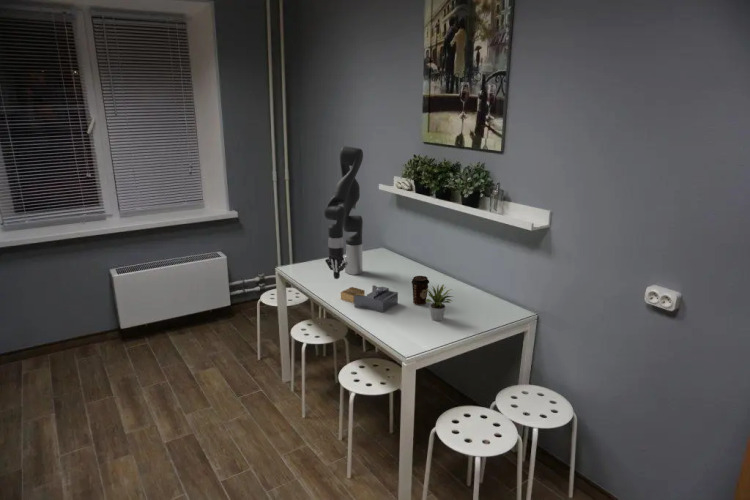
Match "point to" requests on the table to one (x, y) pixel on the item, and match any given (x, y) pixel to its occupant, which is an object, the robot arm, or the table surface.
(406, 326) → the table surface
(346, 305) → the table surface
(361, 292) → the block
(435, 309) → the house plant
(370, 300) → the coupler dock
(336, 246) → the robot arm
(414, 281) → the coffee cup
